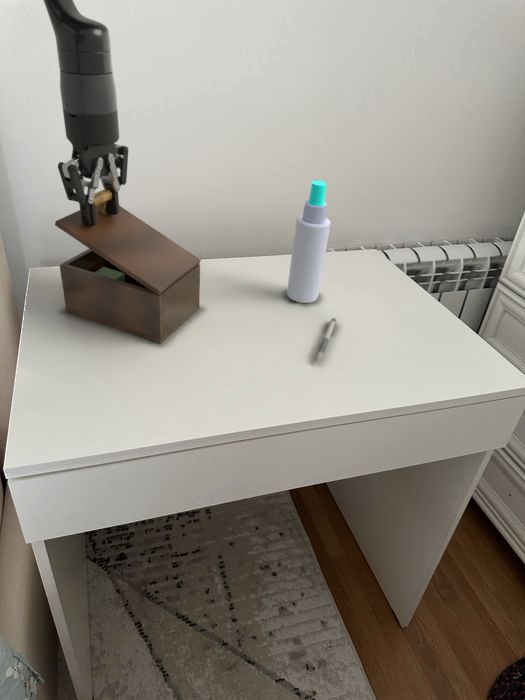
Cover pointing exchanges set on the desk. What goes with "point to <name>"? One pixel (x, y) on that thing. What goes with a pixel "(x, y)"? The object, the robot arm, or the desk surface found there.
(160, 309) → the chest
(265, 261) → the desk surface
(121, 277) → the block
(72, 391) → the desk surface
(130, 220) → the lid
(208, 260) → the desk surface
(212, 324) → the desk surface
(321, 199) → the spray bottle
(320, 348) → the pen
